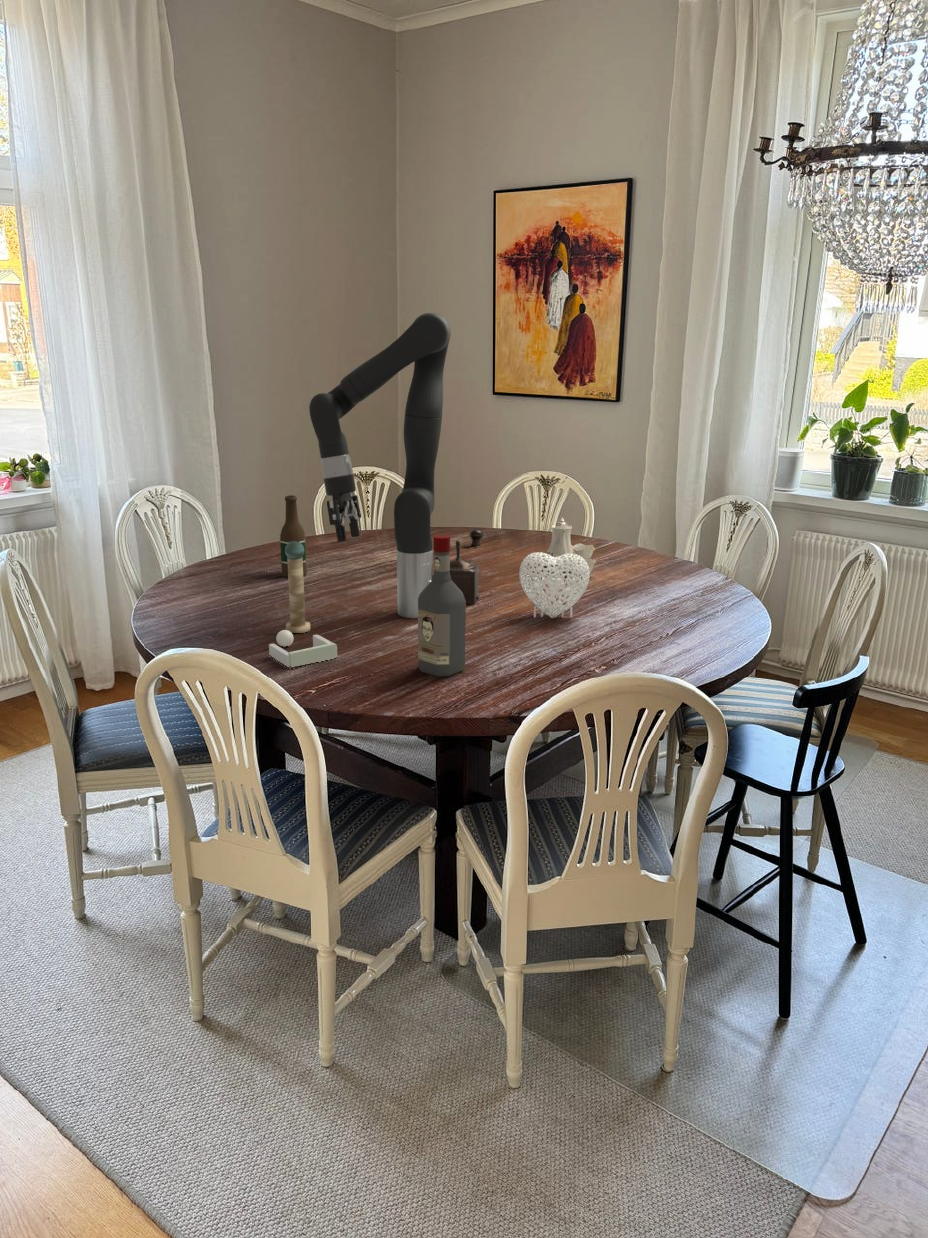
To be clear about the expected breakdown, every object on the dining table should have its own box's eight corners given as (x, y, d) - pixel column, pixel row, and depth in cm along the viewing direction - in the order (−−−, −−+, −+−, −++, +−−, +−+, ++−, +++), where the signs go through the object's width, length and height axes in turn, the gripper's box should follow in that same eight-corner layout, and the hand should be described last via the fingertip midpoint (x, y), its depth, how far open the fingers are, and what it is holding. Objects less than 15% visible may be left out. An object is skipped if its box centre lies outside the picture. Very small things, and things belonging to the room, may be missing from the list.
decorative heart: (516, 621, 240) (518, 556, 235) (519, 609, 250) (521, 547, 245) (587, 625, 238) (590, 559, 233) (587, 612, 248) (590, 549, 243)
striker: (312, 626, 235) (309, 538, 228) (307, 634, 229) (303, 544, 222) (289, 626, 235) (284, 538, 228) (283, 633, 229) (278, 543, 222)
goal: (269, 656, 214) (268, 642, 213) (317, 646, 221) (317, 632, 220) (289, 669, 206) (288, 654, 205) (338, 658, 213) (338, 643, 212)
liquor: (439, 658, 214) (439, 529, 204) (470, 668, 208) (472, 536, 199) (412, 669, 207) (411, 536, 198) (443, 679, 201) (444, 543, 192)
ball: (295, 643, 222) (294, 627, 221) (291, 649, 219) (291, 633, 217) (279, 643, 223) (278, 627, 221) (274, 649, 219) (273, 632, 218)
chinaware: (599, 587, 278) (608, 532, 273) (543, 580, 278) (551, 525, 273) (589, 563, 305) (597, 513, 300) (539, 557, 305) (546, 507, 300)
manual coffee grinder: (476, 605, 254) (477, 540, 248) (436, 603, 255) (436, 538, 250) (483, 589, 268) (484, 528, 263) (445, 588, 270) (445, 526, 264)
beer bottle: (311, 573, 284) (308, 494, 276) (300, 579, 277) (297, 499, 269) (288, 571, 286) (284, 492, 278) (276, 577, 279) (272, 497, 271)
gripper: (340, 474, 226) (351, 541, 229) (362, 470, 239) (373, 533, 242) (312, 478, 228) (324, 544, 231) (336, 474, 242) (347, 536, 245)
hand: (349, 538), depth 237 cm, fingers open, 8 cm apart
